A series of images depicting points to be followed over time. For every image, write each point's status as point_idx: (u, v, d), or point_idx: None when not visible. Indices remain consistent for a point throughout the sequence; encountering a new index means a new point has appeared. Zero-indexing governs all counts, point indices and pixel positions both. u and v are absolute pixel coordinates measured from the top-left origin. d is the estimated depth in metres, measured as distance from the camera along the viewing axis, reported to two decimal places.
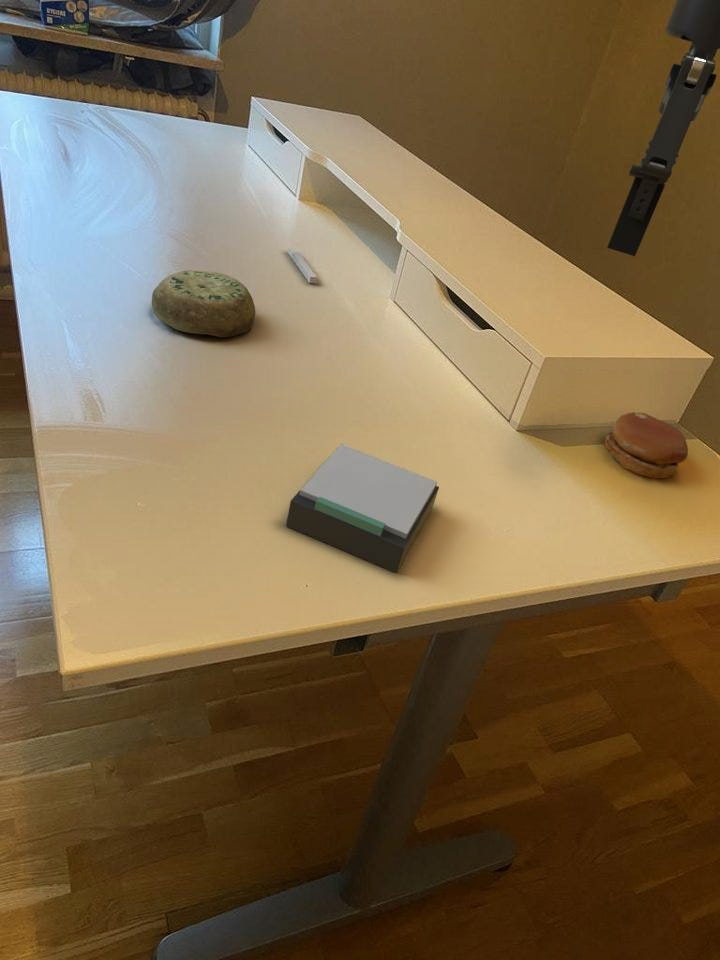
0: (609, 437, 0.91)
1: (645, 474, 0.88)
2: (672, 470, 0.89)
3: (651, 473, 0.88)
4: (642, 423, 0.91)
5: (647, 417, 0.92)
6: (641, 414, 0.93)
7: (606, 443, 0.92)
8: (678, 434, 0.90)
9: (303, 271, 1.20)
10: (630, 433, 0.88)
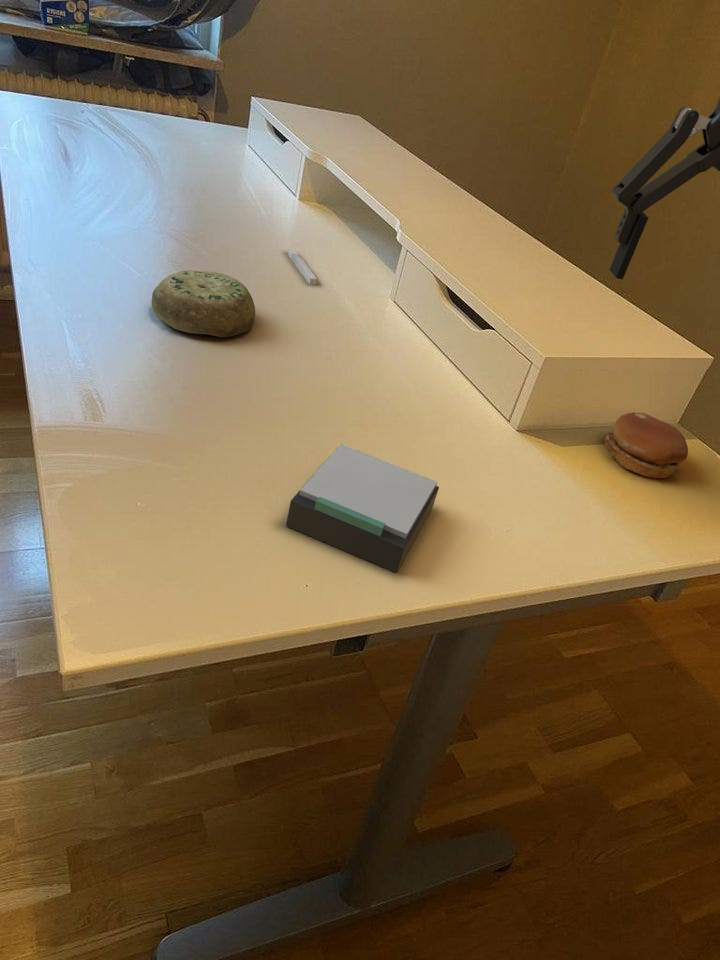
0: (609, 437, 0.91)
1: (645, 474, 0.88)
2: (672, 470, 0.89)
3: (651, 473, 0.88)
4: (642, 423, 0.91)
5: (647, 417, 0.92)
6: (641, 414, 0.93)
7: (606, 443, 0.92)
8: (678, 434, 0.90)
9: (303, 273, 1.20)
10: (630, 433, 0.88)
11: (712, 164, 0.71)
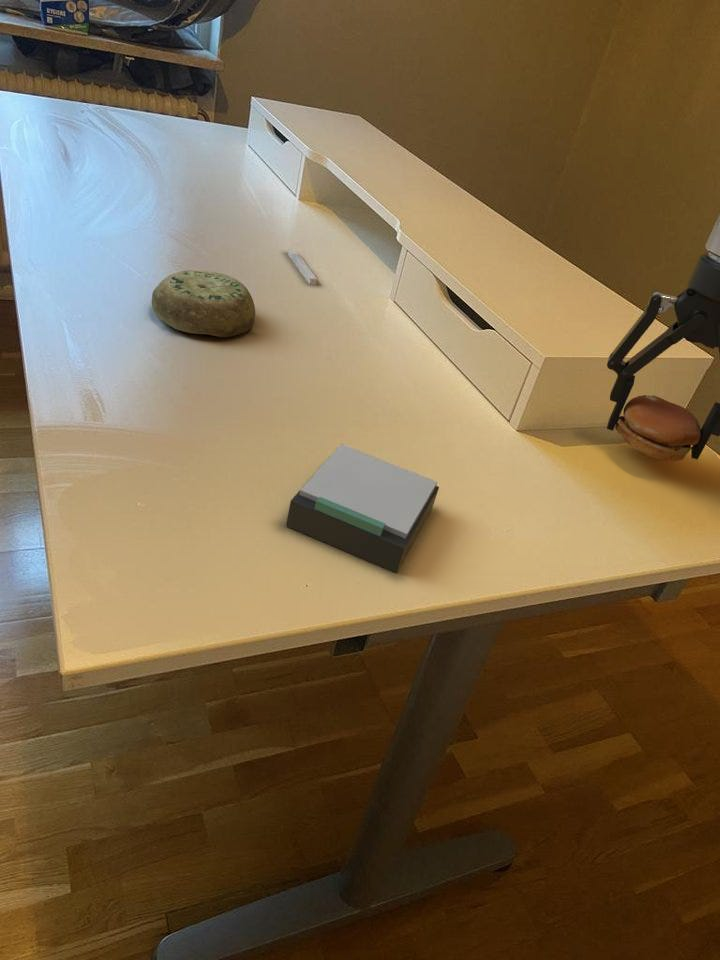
0: (620, 420, 0.89)
1: (658, 456, 0.86)
2: (685, 452, 0.88)
3: (663, 455, 0.86)
4: (654, 405, 0.89)
5: (658, 400, 0.90)
6: (652, 397, 0.92)
7: (617, 426, 0.90)
8: (691, 416, 0.88)
9: (303, 273, 1.20)
10: (642, 415, 0.87)
11: (680, 338, 0.82)
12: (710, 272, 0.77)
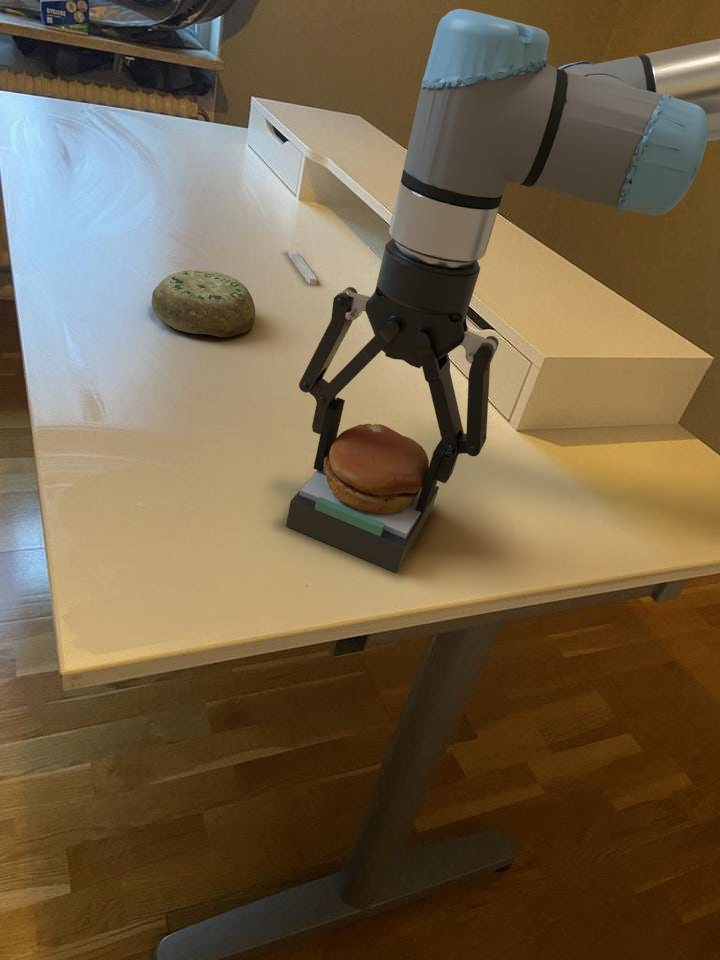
0: (327, 457, 0.68)
1: (362, 509, 0.65)
2: (404, 503, 0.66)
3: (369, 507, 0.65)
4: (369, 439, 0.67)
5: (381, 431, 0.69)
6: (378, 426, 0.70)
7: None
8: (414, 454, 0.67)
9: (303, 273, 1.20)
10: (344, 452, 0.65)
11: (375, 353, 0.61)
12: (390, 264, 0.55)
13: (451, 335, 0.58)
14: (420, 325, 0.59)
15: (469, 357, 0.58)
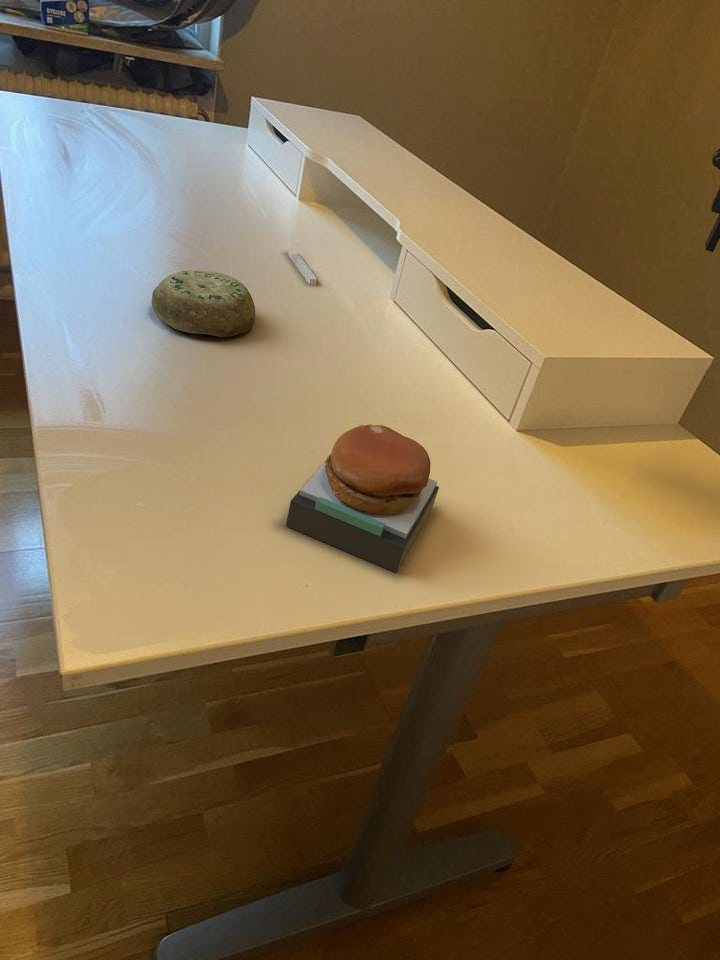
0: (328, 458, 0.68)
1: (364, 509, 0.65)
2: (405, 504, 0.66)
3: (370, 508, 0.65)
4: (371, 439, 0.67)
5: (383, 432, 0.69)
6: (379, 427, 0.70)
7: None
8: (415, 455, 0.67)
9: (303, 273, 1.20)
10: (345, 453, 0.65)
11: None
12: None
13: None
14: None
15: None
